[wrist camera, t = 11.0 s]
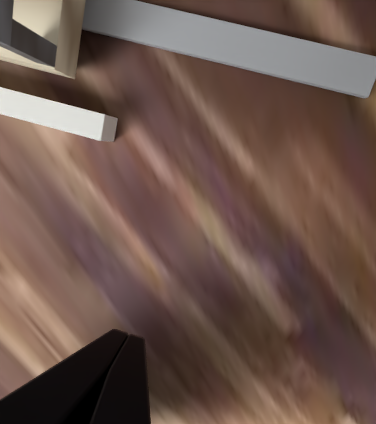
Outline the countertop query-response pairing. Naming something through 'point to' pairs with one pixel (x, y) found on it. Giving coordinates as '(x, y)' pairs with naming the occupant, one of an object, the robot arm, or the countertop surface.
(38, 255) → the countertop surface
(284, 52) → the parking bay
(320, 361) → the countertop surface
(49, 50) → the beige hollow block
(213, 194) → the countertop surface
